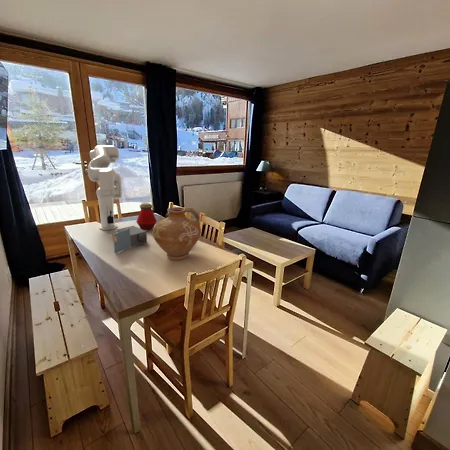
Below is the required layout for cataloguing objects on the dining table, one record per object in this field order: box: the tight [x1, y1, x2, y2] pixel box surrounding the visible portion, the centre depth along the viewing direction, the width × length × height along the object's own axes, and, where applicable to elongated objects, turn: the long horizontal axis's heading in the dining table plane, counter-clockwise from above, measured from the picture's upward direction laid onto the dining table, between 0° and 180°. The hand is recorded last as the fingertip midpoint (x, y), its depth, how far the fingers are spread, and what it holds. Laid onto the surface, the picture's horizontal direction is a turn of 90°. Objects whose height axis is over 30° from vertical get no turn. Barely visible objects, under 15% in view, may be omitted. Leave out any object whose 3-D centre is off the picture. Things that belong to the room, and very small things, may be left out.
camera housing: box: [116, 225, 148, 248], centre depth 169 cm, size 18×12×8 cm, turn 50°
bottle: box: [135, 202, 158, 231], centre depth 193 cm, size 16×14×20 cm
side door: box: [112, 228, 132, 255], centre depth 153 cm, size 12×2×12 cm, turn 155°
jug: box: [152, 206, 202, 261], centre depth 148 cm, size 28×28×30 cm
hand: (110, 222), depth 147 cm, fingers closed
